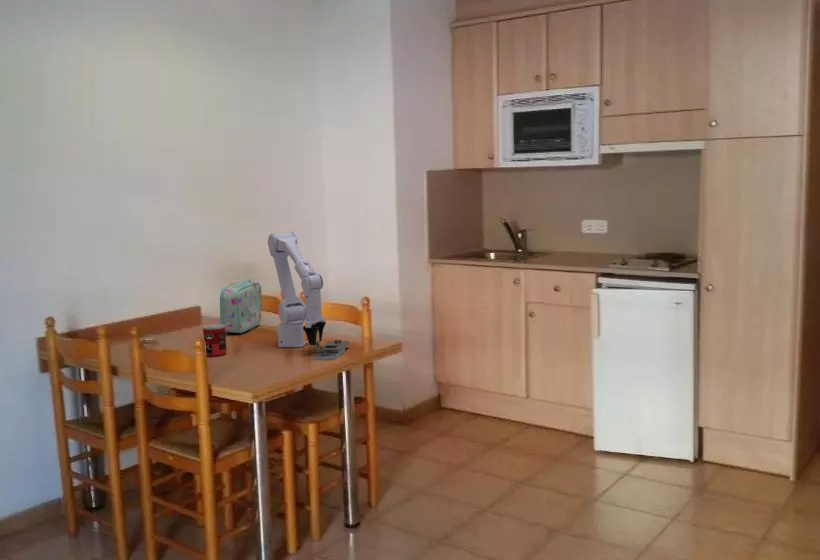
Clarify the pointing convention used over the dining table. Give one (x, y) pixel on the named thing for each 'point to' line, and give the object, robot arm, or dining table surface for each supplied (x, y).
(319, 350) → the chain end upper
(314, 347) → the brass pin
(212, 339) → the canned food
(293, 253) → the robot arm
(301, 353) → the dining table surface
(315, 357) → the chain end lower
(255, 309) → the lunch box
